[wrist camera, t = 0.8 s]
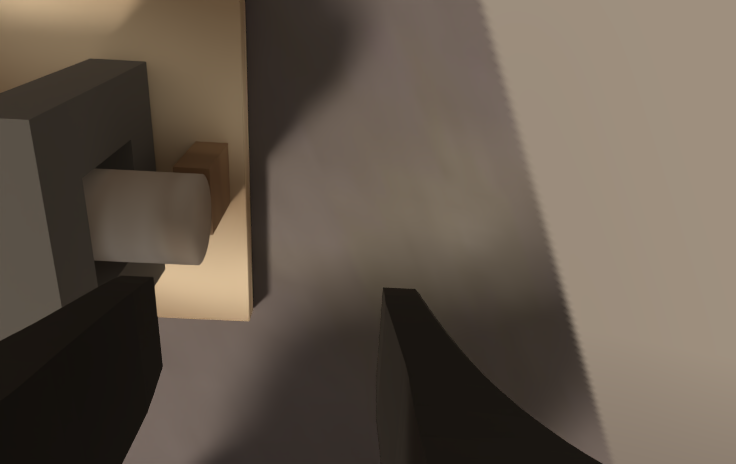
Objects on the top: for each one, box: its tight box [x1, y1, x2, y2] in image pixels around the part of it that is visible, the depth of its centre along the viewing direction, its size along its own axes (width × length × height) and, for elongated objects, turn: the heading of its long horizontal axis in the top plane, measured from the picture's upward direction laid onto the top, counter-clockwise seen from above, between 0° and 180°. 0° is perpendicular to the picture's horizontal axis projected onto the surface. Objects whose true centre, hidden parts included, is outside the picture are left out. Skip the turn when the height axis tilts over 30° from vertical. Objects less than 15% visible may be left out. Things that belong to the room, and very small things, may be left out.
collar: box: [0, 58, 165, 341], centre depth 16 cm, size 7×2×7 cm, turn 177°
